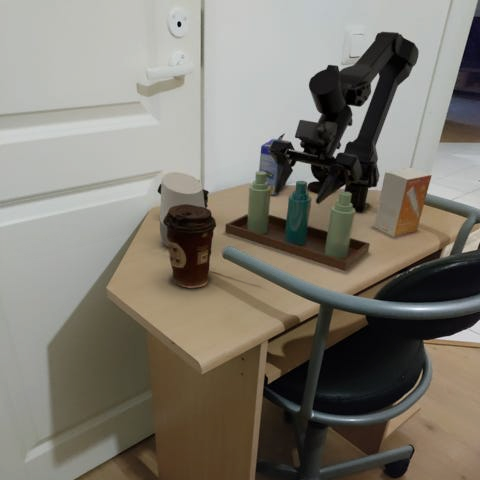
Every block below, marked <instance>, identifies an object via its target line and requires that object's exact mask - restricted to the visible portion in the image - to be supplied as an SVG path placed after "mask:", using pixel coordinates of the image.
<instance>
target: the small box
mask: <svg viewBox="0 0 480 480" xmlns="http://www.w3.org/2000/svg"><path fill="white" fill-rule="evenodd" d="M432 176H433V175H432V174H431V173H427V172H424V171H422V170H419V169H416V168H413V167H405V168H399V169H393V170H389V171H385V172H384V177H383V181H382V186H381V191H380V196H379V200H378V205H377V209H376V214H375V218H374V225H373V228H375V229H378V230H380V231H383V232H385V233H387V234H389V235H391V236H393V237H397V236H399V235H402V234H410V233H413V232H414V233H415V232H418V229H419V225H420V221H421V217H422V213H423V209H424V206H425V202H426V198H427V195H428V190H429V187H430V183H431V179H432Z"/></svg>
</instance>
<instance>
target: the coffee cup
mask: <svg viewBox="0 0 480 480" xmlns="http://www.w3.org/2000/svg"><path fill="white" fill-rule="evenodd" d="M168 211H169V212H168V213H167V215H166V216H165V218H164V220H163V223H164V224H165V225H166V226H167V240H168V247H167V249H168V254H169V262H170V266H171V269H172V279H173V280H172V281H173V282H174V283H175V284H177V285H178V286H181V287H183V288H188V289H195V288H201V287H204V286H206V285H207V284H208V282H209V272H210V265H211V262H210V261H211V255H212V245H213V238H214V230H215V228H216V227H217V223H216V219H215V217H213V216H212V211H211V210H210V209H209V208H204V207H198V206H194V205H189V204H188V205H187V204H183V205H178V206H173V207H171V208H170V209H169V210H168Z"/></svg>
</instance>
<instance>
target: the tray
mask: <svg viewBox="0 0 480 480" xmlns="http://www.w3.org/2000/svg"><path fill="white" fill-rule="evenodd" d="M247 219H248V213H246V214H244V215H242V216H240V217H237V218H236V219H234V220H232V221H230V222H228V223H225V233H226V234H228V235H233V236H234V237H235V236H236V237H239V238H241V239H245V240H247V241H251V242H254V243H257V244H261V245H264V246H267V247H269V248H272V249H274V250H275V249H276V250H279V251H282V252H285V253H288V254H291V255H294V256H297V257H300V258H304V259H306V260H309V261H312V262H315V263H318V264H322V265H325V266H327V267H331V268H334V269H337V270H340V271H343V272H345V271H347V270H348V269H349V268H351V267H352V266H353V265H354V264H355V263H356V262H357V261H359V260H360V259H361V258H363V257H364V256H365V255H366V254H368V253H369V250H370V246H371V243H369V242H366V241H363V240H359V239H355V238H352V237H351V239H350V244H349V250H348V255H347V257H346V258H344V259H339V258H336V257H332V256H329V255H326V254H325V253H324V252H325V245H326V239H327V232H328V230H324V229H322V228H318V227H314V226H311V225H308V232H307V240H306V244H304V245H301V246H297V245H294V244H291V243H288V242H285V241H284V239H285V229H286V219H287V218H282V217H279V216H276V215H273V214H269V223H268V231H267V232H266V233H263V234H259V233H256V232H253V231H249V230H247Z"/></svg>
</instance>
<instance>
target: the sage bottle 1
mask: <svg viewBox="0 0 480 480" xmlns="http://www.w3.org/2000/svg"><path fill="white" fill-rule="evenodd" d="M271 196H272V195H271V187H270V186H268V182H266V172H262V171H259V170H258V171H256V172H255V180H253V181H252V184H250V185H249V186H248V200H247V201H248V202H247V214H248V219H247V230H249V231H253V232H256V233H259V234H263V233H266V232H267V231H268V223H269V215H270V211H271V210H270V208H271Z"/></svg>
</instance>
